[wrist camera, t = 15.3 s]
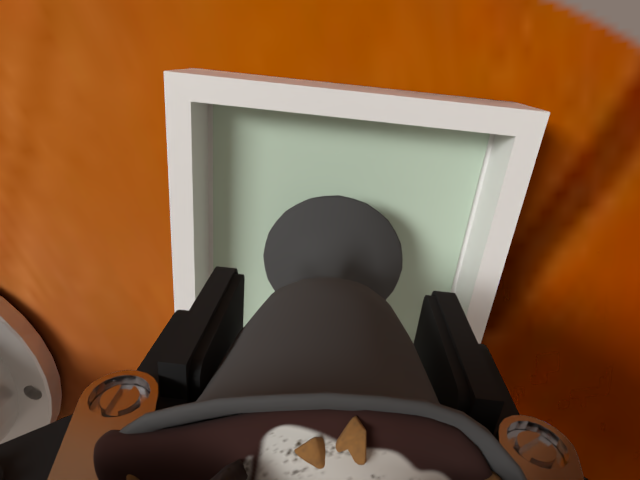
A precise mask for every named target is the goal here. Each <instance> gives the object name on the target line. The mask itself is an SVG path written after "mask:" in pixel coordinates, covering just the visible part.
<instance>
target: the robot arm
mask: <svg viewBox="0 0 640 480" xmlns="http://www.w3.org/2000/svg"><path fill="white" fill-rule="evenodd" d="M244 282H245V277H244V274H238V270H237V268H228V267H219V266H216V267H215V269H214V270H213V272H212V274H211V275H210V277H209V278H208V280H207V282H206V283H205V285H204V287H203V288H202V290H201V292H200V293H199V295H198V296H197V298H196V300H195V301H194V303H193V305H192V306H191V308H190V309H189V311H188V310H177V311H176V312H175V313H174V315H173V316H172V318H171V319H170V321H169V322H168V324H167V325H166V327H165V328H164V330H163V331H162V333H161V334H160V336H159V337H158V339H157V340H156V342H155V343H154V345H153V346H152V348H151V349H150V351H149V352H148V354H147V355H146V357H145V358H144V360H143V361H142V363H141V364H140V366H139V367H138V369H137V370H124V371H118V372H113V373H110V374H108V375H105V376H102V377H101V378H99V379H97V380H95V381H94V382H92V383H91V384H90V385H89V386H88V387H87V388H86V389H85V390H84V391H83V393H82V395H81V396H80V398H79V400H78V403H77V405H76V408H75V411H74V413H73V414H72V415H70V416H67V417H65V418H62V419H60V420H58V421H56V420H57V417H58V415H59V413H60V407H61V400H62V391H61V383H60V376H59V373H58V370H57V368H56V365H55V362H54V359H53V357H52V355H51V353H50V352H49V350H48V348H47V346H46V345H45V343H44V341H43V340H42V338H41V336H40V335H39V334H38V332H37V331H36V330H35V329H34V328H33V326H32V325H31V324H30V323H29V322H28V320H27V319H26V318H25V317H24V316H23V315H22V314H21V313H20V312H19V311H18V310H17V309H15V308H14V307H13V306H12V305H11V304H10V303H9V302H8V301H7V300H6V299H4V298H3V297H2V296H0V480H98V478H97V475H96V473H95V469H94V462H93V454H94V447H95V444H96V442H97V441H98V439H99V438H100V437H101V436H102V435H104V434H105V433H106V432H108V431H110V430H121V429H122V428H123V427H125V426H126V425H128V424H129V423H131V422H133V421H134V420H136V419H137V418H139V417H141V416H142V415H144V414H145V413H149V412H153V411H157V410H161V409H165V408H168V407H172V406H176V405H181V404H187V403H192V402H196V400H197V399H198V398H199V397H200V395H201V394H202V393H203V391H204V389H205V388H206V386H207V384H208V383H209V381H210V380H211V378H212V376H213V375H214V373H215V371H216V370H217V368H218V366H219V365H220V363H221V362H222V360H223V358H224V357H225V355H226V353H227V352H228V350H229V348H230V347H231V345H232V344H233V342H234V340H235V339H236V337H237V335H238V334H239V333H240V331H241V330H242V329H243V316H244ZM414 346H415V349H416V351H417V353H418V355H419V358H420V360H421V362H422V365H423V367H424V369H425V371H426V374H427V376H428V378H429V380H430V383H431V385H432V387H433V389H434V392H435V394H436V396H437V399H438V401H439V403H440V404H441V405H444V406H447V407H450V408H453V409H456V410H459V411H462V412H464V413H466V414H467V415H469V416H470V417H471V418H473V419H474V420H476V421H477V422H479V423H480V424H481V425H483V426H484V427H486V428H487V429H488V430H489V431H490V432H491V433H492V435H493V436H494V437H495V438H496V439H497V440H498V442H499V443H500V444H501V445H502V446H503V447H504V449H505V450H506V451H507V452H508V453H509V454H510V456H511V457H512V458H513V459H514V460H515V461H516V463H517V464H518V465H519V466H520V467H521V469H522V471H523V473H524V474H525V476H526V478H527V480H588V479H586V478H585V477H583V473H582V469H581V466H580V462H579V458H578V455H577V453H576V451H575V449H574V446H573V445H572V444H571V443H570V441H569V440H568V439H567V438H566V437H565V436H564V435H563V434H562V433H561V432H560V431H558V430H557V429H556V428H554V427H553V426H551V425H549V424H548V423H546V422H544V421H542V420H539V419H536V418H534V417H530V416H524V415H519V412H518V410H517V408H516V406H515V404H514V402H513V400H512V398H511V396H510V394H509V392H508V390H507V387H506V385H505V383H504V381H503V379H502V377H501V375H500V373H499V371H498V369H497V367H496V364H495V362H494V360H493V358H492V356H491V354H490V352H489V350H488V348H487V347H486V345H484V344H478V342H477V340H476V337H475V335H474V333H473V331H472V329H471V326H470V324H469V322H468V320H467V318H466V315H465V313H464V311H463V309H462V307H461V304H460V302H459V300H458V298H457V296H456V294H455V293H451V292H442V291H433V292H432V294H431V295H425V297H424V299H423V304H422V308H421V313H420V317H419V321H418V326H417V330H416V335H415V339H414Z"/></svg>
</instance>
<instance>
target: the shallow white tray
mask: <svg viewBox="0 0 640 480" xmlns="http://www.w3.org/2000/svg"><path fill="white" fill-rule="evenodd" d="M164 90H165V112H166V134H167V156H168V177H169V199H170V221H171V243H172V264H173V286H174V308H175V312H176V311H177V310H188V311H189V309H190V308H191V306H192V305H193V303H194V301H195V300H196V298H197V296H198V295H199V293H200V292H201V290H202V288H203V287H204V285H205V283H206V282H207V280H208V278H209V277H210V275H211V274H212V272H213V270H214V269H215V267H216V266H219V267H228V268H237V270H238V274H244V277H245V282H244V316H243V328H244V326H245V325H246V324H247V323H248V321H249V320H250V319H251V318H252V317H253V315H254V314H255V313H256V312H257V310H258V309H259V308H260V307H261V306H262V305H263V303H264V302H265V301H266V300H267V299H268V298H269V296H270V295H271V294H272V293H274V292H275V291H274V289H273V287H272V286H271V284H270V282H269V281H268V278H267V275H266V271H265V266H264V258H263V254H264V248H265V243H266V240H267V237H268V234H269V231H270V230H271V228H272V227H273V225H274V224H275V222H276V221H277V220H278V219H279V218H280V217H281V216H282V214H283V213H284V212H285V211H287V210H288V209H290V208H291V207H293V206H295V205H296V204H298V203H301V202H303V201H305V200H307V199H309V198H314V197H321V196H334V195H340V196H344V197H349V198H353V199H356V200H359V201H362V202H365V203H367V204H369V205H370V206H372V207H373V208H374V209H376V210H377V211H379V212H380V213H381V214H382V215H383V216H384V217H385V218H387V219H388V220H389V222H390V223H391V225H392V227H393V228H394V230H395V231H396V233H397V236H398V238H399V240H400V242H401V247H402V255H403V264H402V271H401V274H400V278H399V280H398V283H397V285H396V287H395V289H394V291H393V292H392V293H391V294H390V296H389V297H388V298H387V299H386V301H387V302H388V303H389V305H390V306H391V307H392V309H393V310H394V312H395V313H396V315H397V317H398V318H399V320H400V322H401V323H402V325H403V326H404V328H405V330H406V331H407V333H408V335H409V337H410V338H411V340H412V342H413V344H414V339H415V335H416V330H417V326H418V321H419V317H420V313H421V308H422V304H423V299H424V297H425V295H431V294H432V292H433V291H442V292H451V293H455V294H456V296H457V298H458V300H459V302H460V304H461V307H462V309H463V311H464V313H465V315H466V318H467V320H468V322H469V324H470V326H471V329H472V331H473V333H474V335H475V337H476V340H477V342H478V344H481V341H482V338H483V334H484V331H485V328H486V324H487V321H488V318H489V314H490V311H491V308H492V304H493V301H494V298H495V294H496V291H497V288H498V284H499V281H500V278H501V274H502V271H503V268H504V264H505V261H506V258H507V254H508V251H509V248H510V244H511V241H512V238H513V234H514V231H515V228H516V224H517V221H518V218H519V215H520V211H521V208H522V205H523V201H524V198H525V195H526V191H527V188H528V185H529V181H530V178H531V175H532V171H533V168H534V165H535V161H536V158H537V155H538V151H539V148H540V145H541V141H542V138H543V135H544V131H545V128H546V125H547V121H548V118H549V115H550V112H548V111H545V110H541V109H538V108H534V107H531V106H527V105H524V104H520V103H517V102H508V101H498V100H489V99H480V98H470V97H461V96H451V95H442V94H433V93H423V92H414V91H404V90H395V89H385V88H376V87H367V86H357V85H348V84H338V83H329V82H320V81H310V80H301V79H291V78H282V77H273V76H263V75H254V74H244V73H235V72H226V71H216V70H207V69H197V68H190V69H179V70H168V71H164Z"/></svg>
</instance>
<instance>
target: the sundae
mask: <svg viewBox="0 0 640 480" xmlns="http://www.w3.org/2000/svg"><path fill="white" fill-rule="evenodd" d="M263 258H264V266H265V271H266V275H267V278H268V281H269V282H270V284H271V286H272V287H273V289H274V291H275V292H274V293H272V294H271V295H270V296H269V298H268V299H267V300H266V301H265V302H264V303H263V305H262V306H261V307H260V308H259V309H258V310H257V312H256V313H255V314H254V315H253V317H252V318H251V319H250V320H249V321H248V323H247V324H246V325H245V326H244V328H243V329H242V330H241V331H240V333H239V334H238V335H237V337H236V339H235V340H234V342H233V344H232V345H231V347H230V348H229V350H228V352H227V353H226V355H225V357H224V358H223V360H222V362H221V363H220V365H219V366H218V368H217V370H216V371H215V373H214V375H213V376H212V378H211V380H210V381H209V383H208V384H207V386H206V388H205V389H204V391H203V393H202V394H201V395H200V397H199V398H198V399H197V400H196V402H192V403H187V404H181V405H176V406H172V407H168V408H165V409H161V410H157V411H153V412H149V413H145V414H144V415H142V416H141V417H139V418H137V419H136V420H134V421H133V422H131V423H129V424H128V425H126V426H125V427H123V428H122V429H121V430H110V431H108V432H106V433H105V434H104V435H102V436H101V437H100V438H99V439H98V441H97V442H96V444H95V447H94V454H93V462H94V469H95V473H96V475H97V478H98V480H527V478H526V476H525V474H524V473H523V471H522V469H521V467H520V466H519V465H518V464H517V463H516V461H515V460H514V459H513V458H512V457H511V456H510V454H509V453H508V452H507V451H506V450H505V449H504V447H503V446H502V445H501V444H500V443H499V442H498V440H497V439H496V438H495V437H494V436H493V435H492V433H491V432H490V431H489V430H488V429H487V428H486V427H484V426H483V425H481V424H480V423H479V422H477V421H476V420H474V419H473V418H471V417H470V416H469V415H467V414H466V413H464V412H462V411H459V410H456V409H453V408H450V407H447V406H444V405H441V404H440V403H439V401H438V399H437V396H436V394H435V392H434V389H433V387H432V385H431V383H430V380H429V378H428V376H427V374H426V371H425V369H424V367H423V365H422V362H421V360H420V358H419V355H418V353H417V351H416V349H415V346H414V344H413V342H412V340H411V338H410V337H409V335H408V333H407V331H406V330H405V328H404V326H403V325H402V323H401V322H400V320H399V318H398V317H397V315H396V313H395V312H394V310H393V309H392V307H391V306H390V305H389V303H388V302H387V301H386V299H387V298H388V297H389V296H390V294H391V293H392V292H393V291H394V289H395V287H396V285H397V283H398V280H399V278H400V274H401V271H402V264H403V255H402V247H401V242H400V240H399V238H398V236H397V233H396V231H395V230H394V228H393V227H392V225H391V223H390V222H389V220H388V219H387V218H385V217H384V216H383V215H382V214H381V213H380V212H379V211H377V210H376V209H374V208H373V207H372V206H370V205H369V204H367V203H365V202H362V201H359V200H356V199H353V198H349V197H344V196H340V195H334V196H321V197H314V198H309V199H307V200H305V201H303V202H301V203H298V204H296V205H295V206H293V207H291V208H290V209H288V210H287V211H285V212H284V213H283V214H282V216H281V217H280V218H279V219H278V220H277V221H276V222H275V224H274V225H273V227H272V228H271V230H270V231H269V234H268V237H267V240H266V243H265V248H264V254H263Z"/></svg>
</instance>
